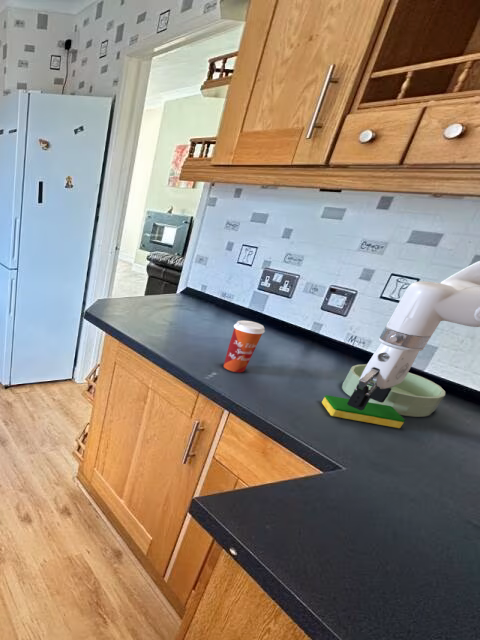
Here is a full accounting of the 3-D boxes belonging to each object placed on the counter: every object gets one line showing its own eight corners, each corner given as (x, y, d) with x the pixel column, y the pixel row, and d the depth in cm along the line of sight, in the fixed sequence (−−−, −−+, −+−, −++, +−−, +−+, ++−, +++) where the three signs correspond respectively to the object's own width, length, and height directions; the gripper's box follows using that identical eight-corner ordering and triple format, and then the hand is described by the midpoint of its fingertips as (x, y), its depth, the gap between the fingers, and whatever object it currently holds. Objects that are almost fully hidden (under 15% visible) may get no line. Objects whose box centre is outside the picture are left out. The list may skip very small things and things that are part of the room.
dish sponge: (400, 429, 98) (406, 420, 97) (330, 416, 102) (335, 407, 101) (386, 414, 104) (391, 405, 102) (320, 402, 108) (325, 394, 107)
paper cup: (223, 372, 122) (240, 327, 115) (216, 361, 128) (231, 318, 122) (252, 375, 120) (271, 330, 114) (244, 364, 127) (260, 321, 120)
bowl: (446, 407, 107) (459, 389, 104) (411, 423, 100) (424, 404, 97) (363, 376, 121) (372, 360, 119) (327, 388, 114) (336, 371, 112)
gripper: (405, 350, 86) (364, 419, 95) (443, 339, 93) (401, 404, 101) (363, 337, 92) (327, 403, 101) (402, 327, 99) (365, 389, 107)
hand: (365, 403), depth 101 cm, fingers open, 8 cm apart
